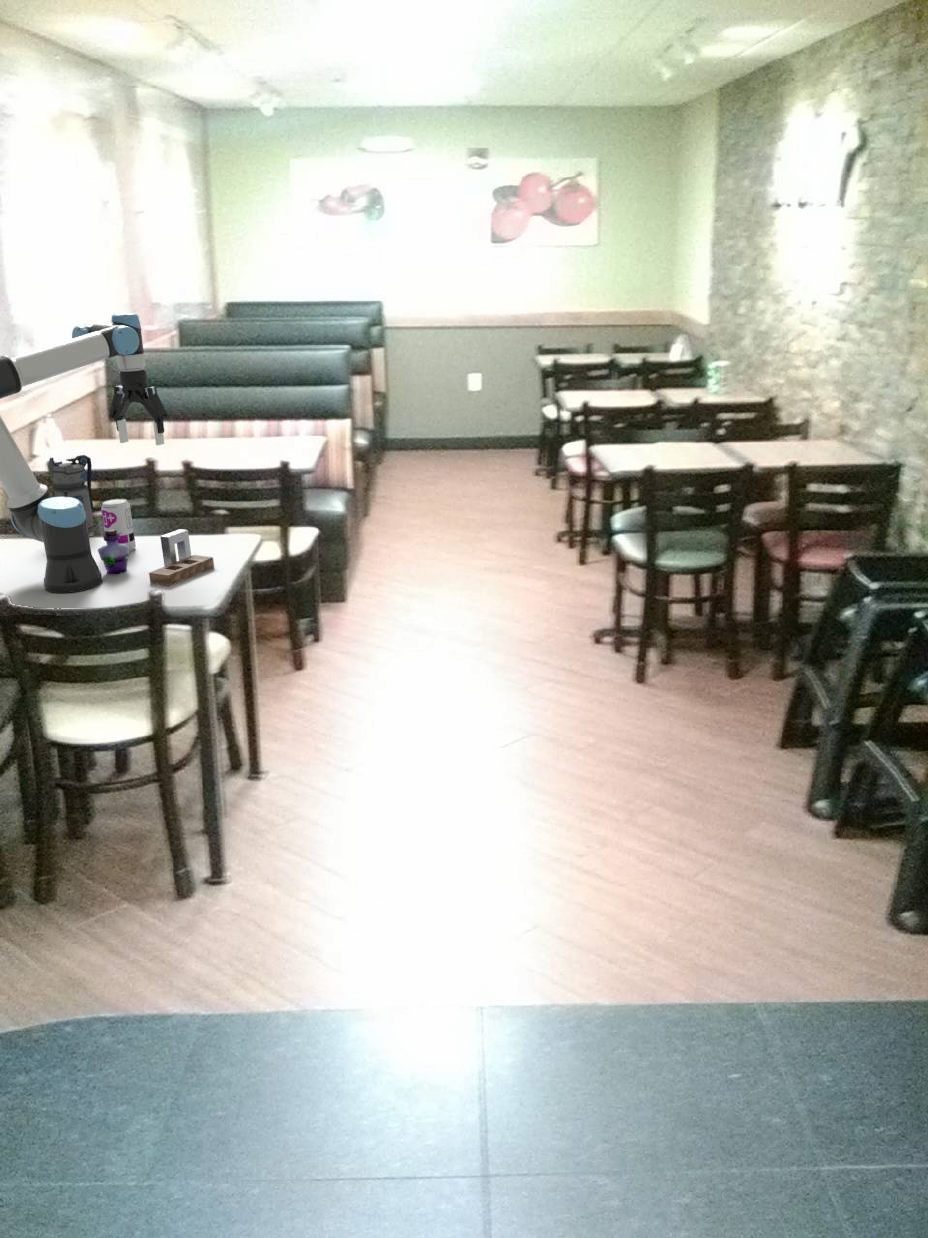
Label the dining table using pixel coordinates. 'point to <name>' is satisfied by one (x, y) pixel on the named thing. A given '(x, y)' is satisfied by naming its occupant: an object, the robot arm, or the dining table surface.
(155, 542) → the dining table surface
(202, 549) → the dining table surface
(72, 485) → the dark grey lidded pitcher
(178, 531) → the clip
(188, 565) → the wooden socket base
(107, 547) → the potion bottle
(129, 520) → the supplement can
